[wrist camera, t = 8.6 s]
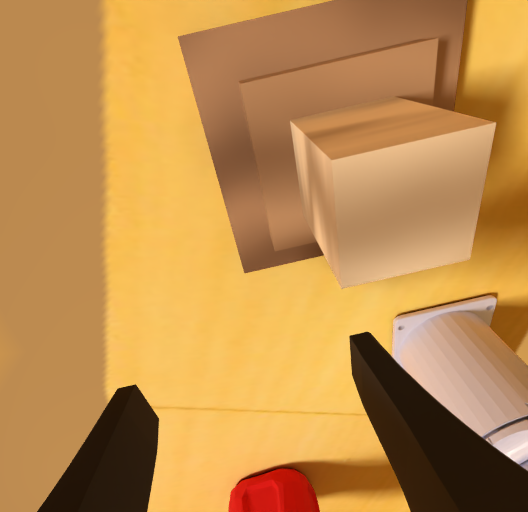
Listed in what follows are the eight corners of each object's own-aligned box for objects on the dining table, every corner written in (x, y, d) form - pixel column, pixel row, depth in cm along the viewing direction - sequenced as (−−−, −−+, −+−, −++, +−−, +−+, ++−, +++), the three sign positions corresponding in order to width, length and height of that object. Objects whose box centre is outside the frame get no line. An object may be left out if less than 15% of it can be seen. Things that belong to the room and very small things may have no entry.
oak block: (391, 194, 16) (470, 259, 11) (303, 214, 16) (341, 288, 11) (393, 96, 14) (496, 122, 9) (289, 120, 14) (331, 160, 9)
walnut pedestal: (425, 217, 21) (454, 241, 18) (243, 259, 21) (246, 288, 18) (448, -25, 14) (499, -41, 12) (181, 38, 14) (173, 35, 12)
